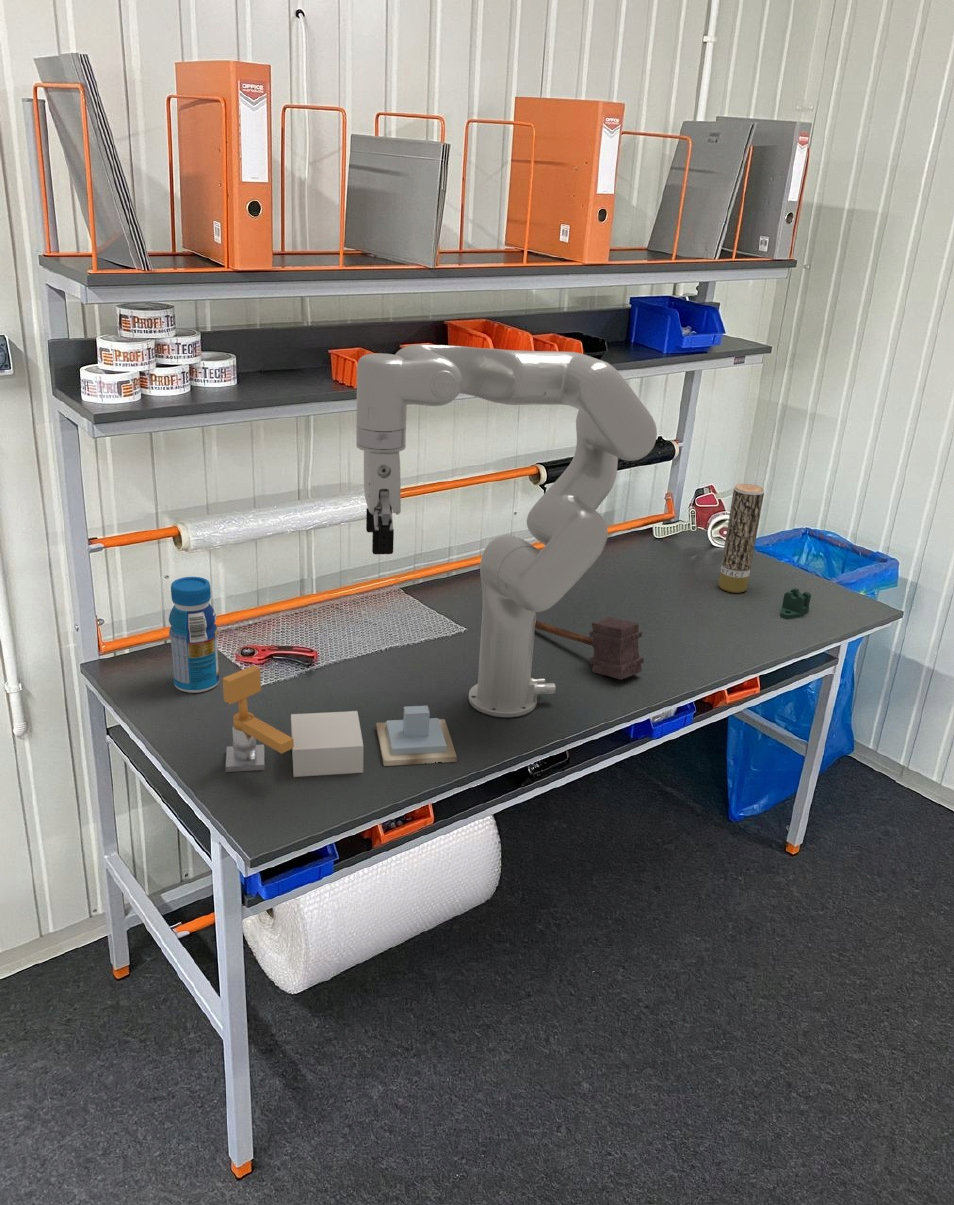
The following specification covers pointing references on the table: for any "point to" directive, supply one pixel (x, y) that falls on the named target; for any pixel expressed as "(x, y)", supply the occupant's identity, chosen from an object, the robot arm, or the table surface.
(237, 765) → the grey square flange base
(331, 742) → the housing
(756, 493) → the paper tube
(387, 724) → the cover
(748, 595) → the table surface
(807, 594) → the mount
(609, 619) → the hammer
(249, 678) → the latch
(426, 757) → the pad
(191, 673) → the beverage bottle
